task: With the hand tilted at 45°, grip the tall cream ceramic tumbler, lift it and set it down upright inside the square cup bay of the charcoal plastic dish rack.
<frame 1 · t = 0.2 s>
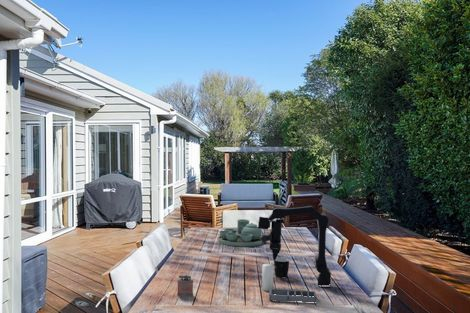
hand: (274, 257, 220), 14 cm above the table, tool pointing down, fingers open, 9 cm apart
lighter: (185, 295, 199), on the table
mug: (281, 277, 232), on the table
tea set: (241, 242, 332), on the table
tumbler: (267, 289, 210), on the table
dish rack: (279, 298, 196), on the table
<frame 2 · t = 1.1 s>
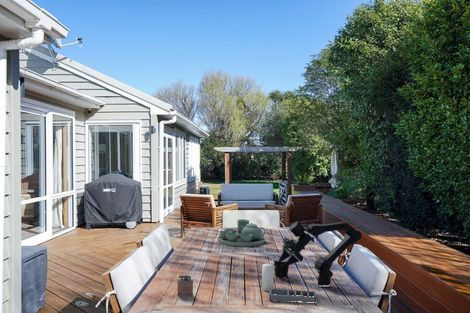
hand: (281, 263, 212), 13 cm above the table, tool tilted 45°, fingers open, 9 cm apart
nothing on the table moved.
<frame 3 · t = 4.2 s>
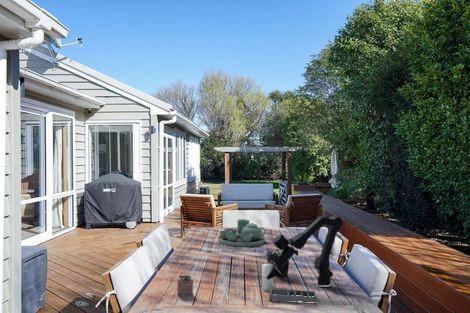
hand: (265, 277, 209), 7 cm above the table, tool tilted 45°, fingers closed on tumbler, 6 cm apart
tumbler: (267, 289, 210), on the table, touching gripper
everything else where it was.
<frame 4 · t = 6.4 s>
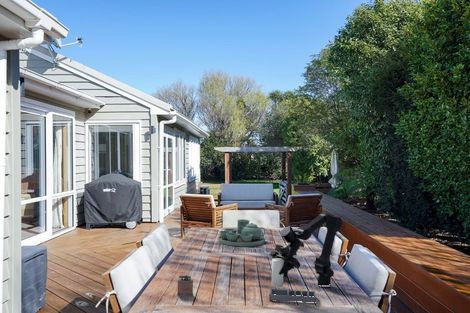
hand: (275, 272, 197), 12 cm above the table, tool tilted 45°, fingers closed on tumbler, 6 cm apart
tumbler: (277, 285, 198), point 6 cm above the table, touching gripper
everything else where it was.
when the fingers open (7 cm above the table, at t = 8.6 s): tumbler stays where it is, resting in dish rack.
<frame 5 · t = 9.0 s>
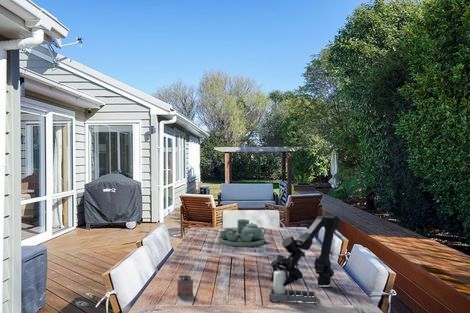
hand: (277, 283, 196), 8 cm above the table, tool tilted 45°, fingers open, 9 cm apart
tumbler: (279, 298, 197), resting in dish rack
everything else where it was.
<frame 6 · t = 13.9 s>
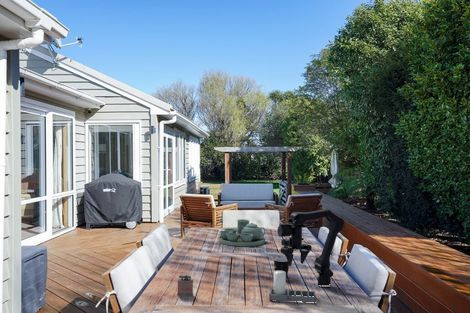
hand: (296, 264, 211), 13 cm above the table, tool pointing down, fingers open, 9 cm apart
nothing on the table moved.
at the end: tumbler 0.1 cm off-centre on the dish rack, point 0.0 cm above the dish rack's base; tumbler tilted 0°; the gripper is holding nothing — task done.
